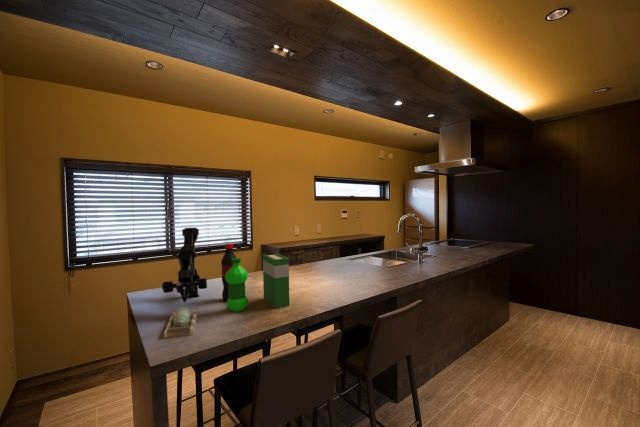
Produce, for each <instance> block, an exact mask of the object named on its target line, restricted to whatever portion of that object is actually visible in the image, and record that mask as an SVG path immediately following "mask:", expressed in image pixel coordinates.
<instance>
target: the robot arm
mask: <svg viewBox="0 0 640 427" xmlns="http://www.w3.org/2000/svg"><path fill="white" fill-rule="evenodd" d="M181 230H182V232H181V234H182V235H181V236H182V237H183V246H181V248H180V250H179V252H178V254H177V257H176V258H177V260H178V263H179V270H178V271H177V273H178V275H177V282H176V283H173V280H169V281H163V282H162V285H161V288H162V291H163V293H172V292H174V289H176V292H177V294H178V293H179V294H180V297H181V299H182V302H183V303H186V302H187V301H188V299H192V298H197V297H200V295H199V290H205V289H208V281H207V280H208V279H207V278H205V277H202V278H201V277H200V274H199V273H198V271H197V269H196V268H195V265H196V264H195V262H196V261H195V260H196V258H197V257H198V256H197V255H198V254H197V252H196V251H195V250H196V248H195V247H196V246H195V245H196V242H197V241H198V236H199V235H200V231H199V230H200V229H199V228H197V227H184V229H181Z"/></svg>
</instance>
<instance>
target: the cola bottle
mask: <svg viewBox="0 0 640 427" xmlns="http://www.w3.org/2000/svg"><path fill="white" fill-rule="evenodd" d="M224 246H225V247H224V248H225V253H224V255H223V256H222V259H221V260H220V263H221V264H220V265H221V281H222V285H223V289H222V293H221V296H222V299H223V300H224V301H225V302H227V300H228V298H229V296H228V283H227V282H226V280H225V275H226V272H227V271H228V270H229V269H230V268H231V267H232V266H233V263H232V259H233V258H238V257H237V256H236V254H235V253H234V243H226V244H225V245H224Z"/></svg>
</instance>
